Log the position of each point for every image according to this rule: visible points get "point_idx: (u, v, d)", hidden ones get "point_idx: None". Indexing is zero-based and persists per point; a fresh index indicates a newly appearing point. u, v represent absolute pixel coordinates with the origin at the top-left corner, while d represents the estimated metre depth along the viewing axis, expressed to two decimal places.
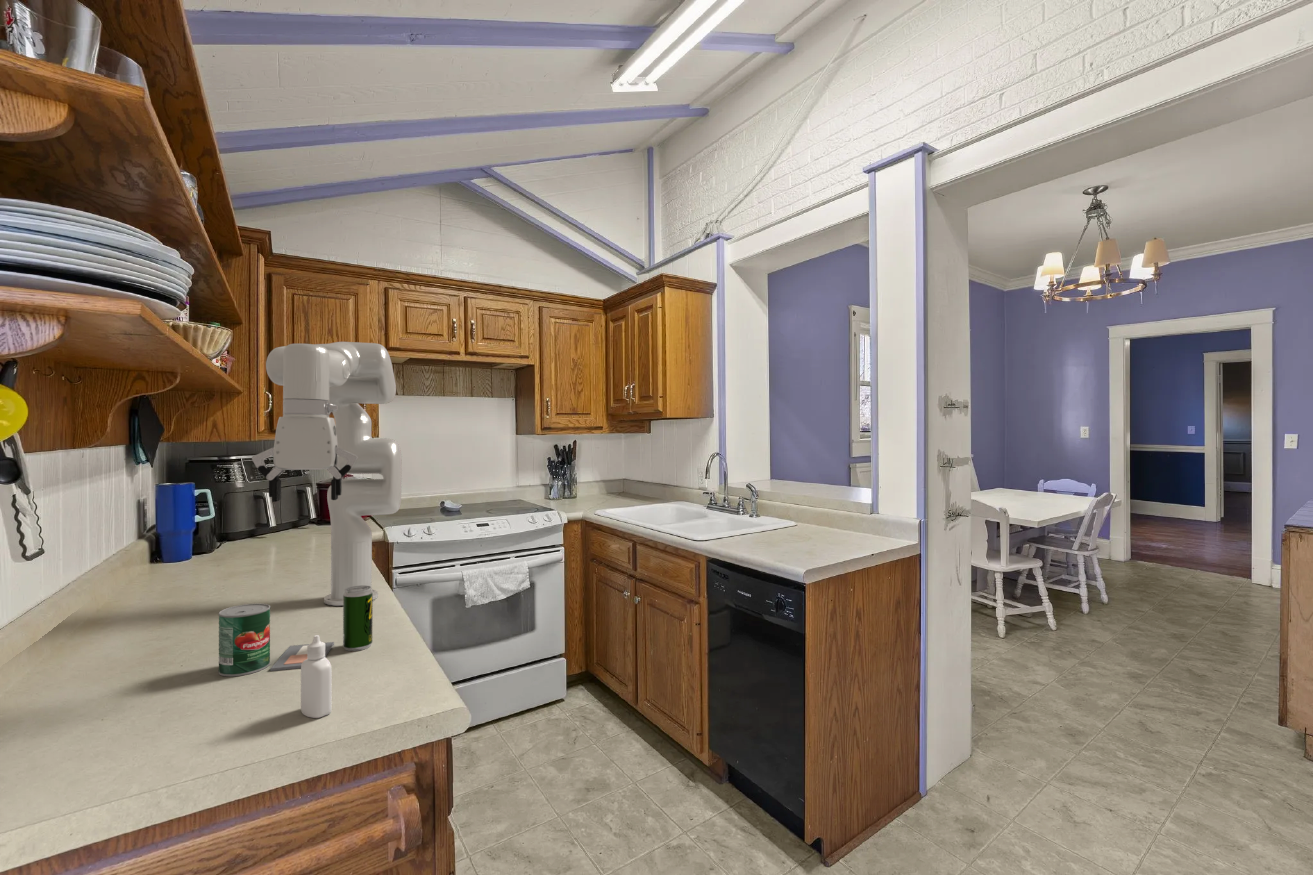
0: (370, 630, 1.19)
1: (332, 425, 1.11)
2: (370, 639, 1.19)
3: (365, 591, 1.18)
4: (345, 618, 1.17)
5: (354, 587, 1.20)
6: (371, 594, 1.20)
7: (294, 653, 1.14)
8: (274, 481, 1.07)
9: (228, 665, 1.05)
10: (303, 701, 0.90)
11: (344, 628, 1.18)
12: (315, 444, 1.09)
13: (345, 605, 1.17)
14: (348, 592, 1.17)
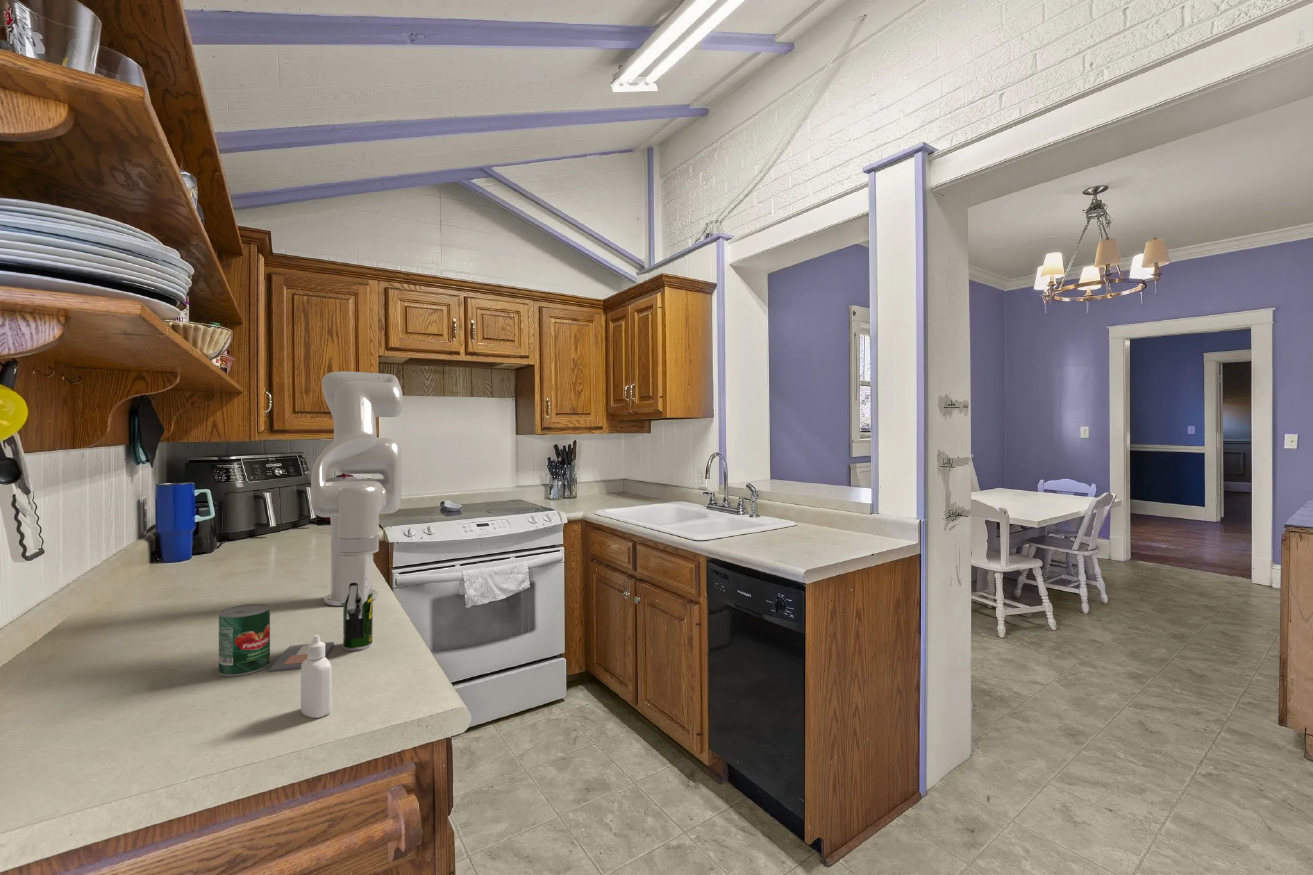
0: (370, 630, 1.19)
1: None
2: (370, 639, 1.19)
3: None
4: (345, 618, 1.17)
5: None
6: (371, 594, 1.20)
7: (294, 653, 1.14)
8: None
9: (228, 665, 1.05)
10: (303, 701, 0.90)
11: (344, 628, 1.18)
12: (372, 573, 1.22)
13: (345, 605, 1.17)
14: None
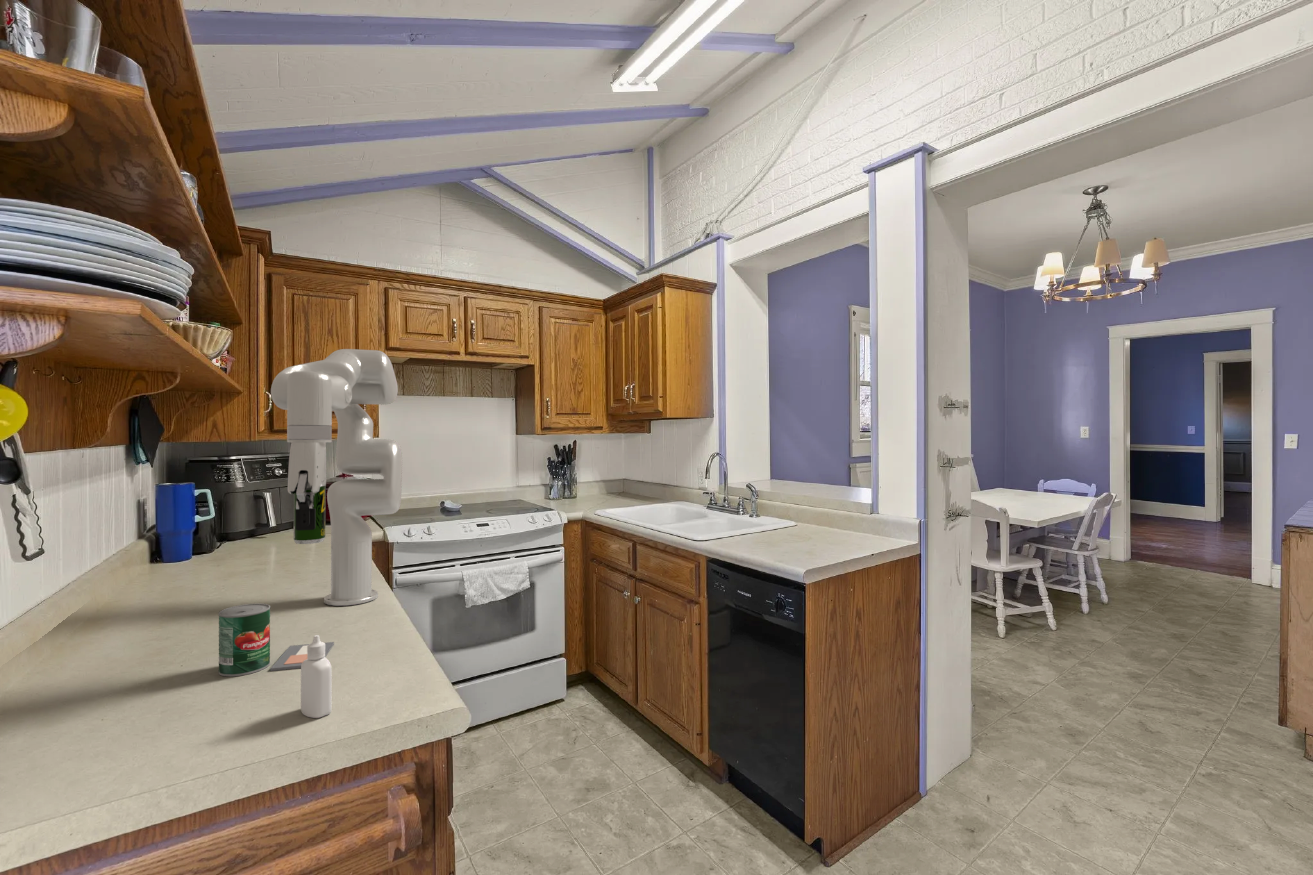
0: (322, 524, 1.14)
1: None
2: (322, 533, 1.14)
3: None
4: (295, 509, 1.12)
5: None
6: (324, 487, 1.15)
7: (294, 653, 1.14)
8: (315, 509, 1.12)
9: (228, 665, 1.05)
10: (303, 701, 0.90)
11: (294, 520, 1.12)
12: (325, 467, 1.17)
13: (295, 496, 1.12)
14: None
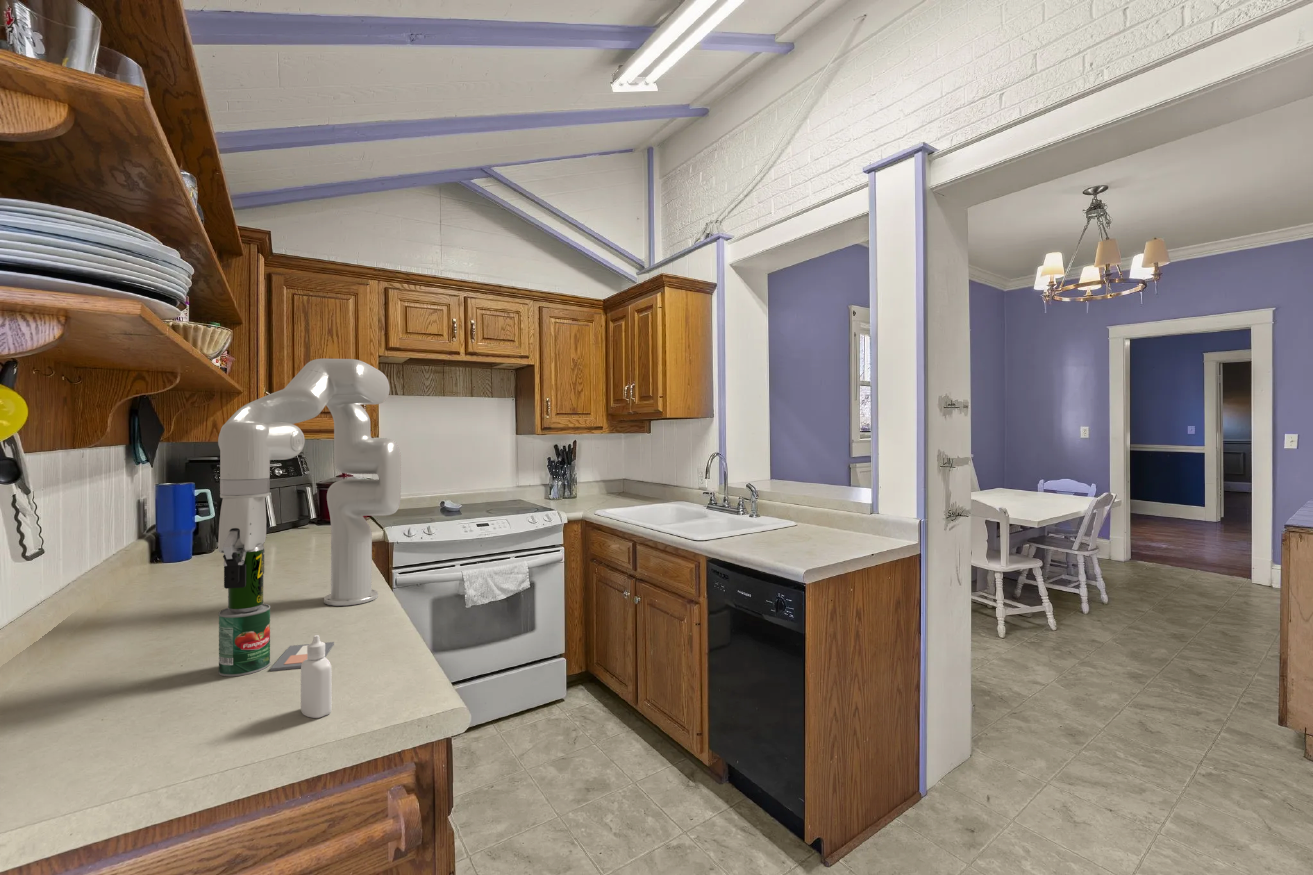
0: (259, 590, 1.08)
1: None
2: (259, 600, 1.08)
3: None
4: None
5: None
6: (261, 551, 1.09)
7: (294, 653, 1.14)
8: (245, 565, 1.04)
9: (228, 665, 1.05)
10: (303, 701, 0.90)
11: None
12: (263, 521, 1.11)
13: None
14: None
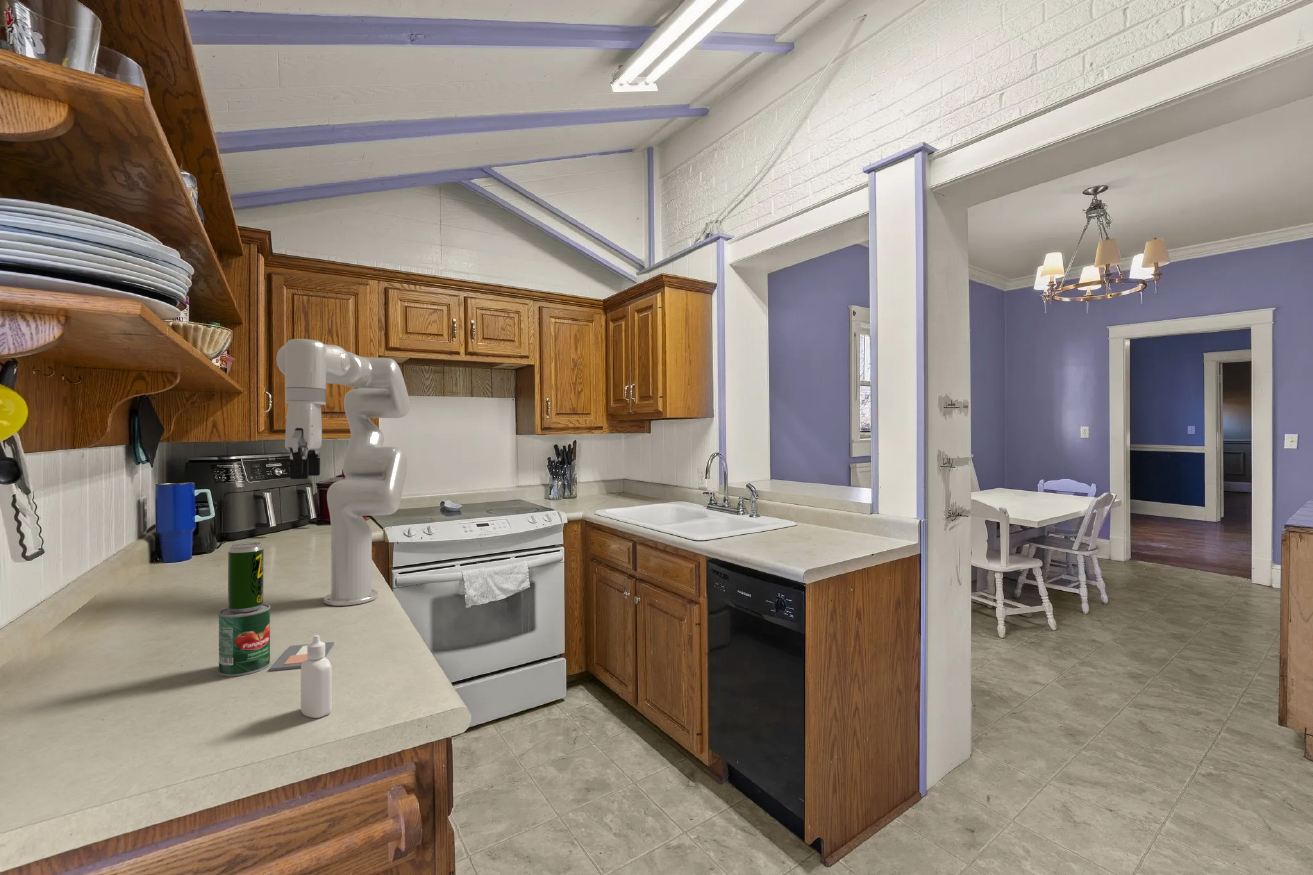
0: (259, 590, 1.08)
1: None
2: (259, 600, 1.08)
3: (252, 547, 1.07)
4: (229, 576, 1.06)
5: (242, 543, 1.09)
6: (261, 551, 1.09)
7: (294, 653, 1.14)
8: (308, 460, 1.21)
9: (228, 665, 1.05)
10: (303, 701, 0.90)
11: (228, 587, 1.07)
12: (320, 428, 1.28)
13: (229, 562, 1.06)
14: (233, 547, 1.06)
